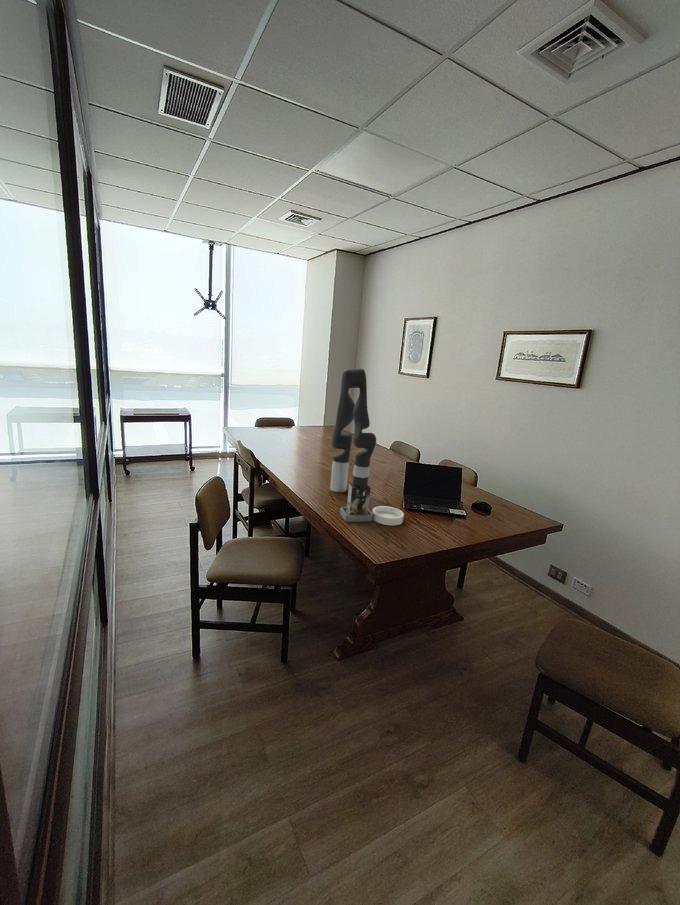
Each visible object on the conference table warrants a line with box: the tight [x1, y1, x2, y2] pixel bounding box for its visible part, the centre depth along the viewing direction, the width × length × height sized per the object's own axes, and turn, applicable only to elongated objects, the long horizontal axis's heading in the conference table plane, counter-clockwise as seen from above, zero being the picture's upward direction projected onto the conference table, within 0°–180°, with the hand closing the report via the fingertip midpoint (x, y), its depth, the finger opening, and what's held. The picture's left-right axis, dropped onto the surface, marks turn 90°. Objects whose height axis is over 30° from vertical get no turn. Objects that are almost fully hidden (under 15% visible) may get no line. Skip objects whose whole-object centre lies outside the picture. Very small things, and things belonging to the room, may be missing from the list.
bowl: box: [371, 505, 405, 526], centre depth 194 cm, size 15×15×4 cm
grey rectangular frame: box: [339, 506, 374, 523], centre depth 193 cm, size 11×14×3 cm
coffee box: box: [346, 482, 371, 515], centre depth 191 cm, size 9×6×16 cm
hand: (357, 507), depth 192 cm, fingers closed on coffee box, 6 cm apart
